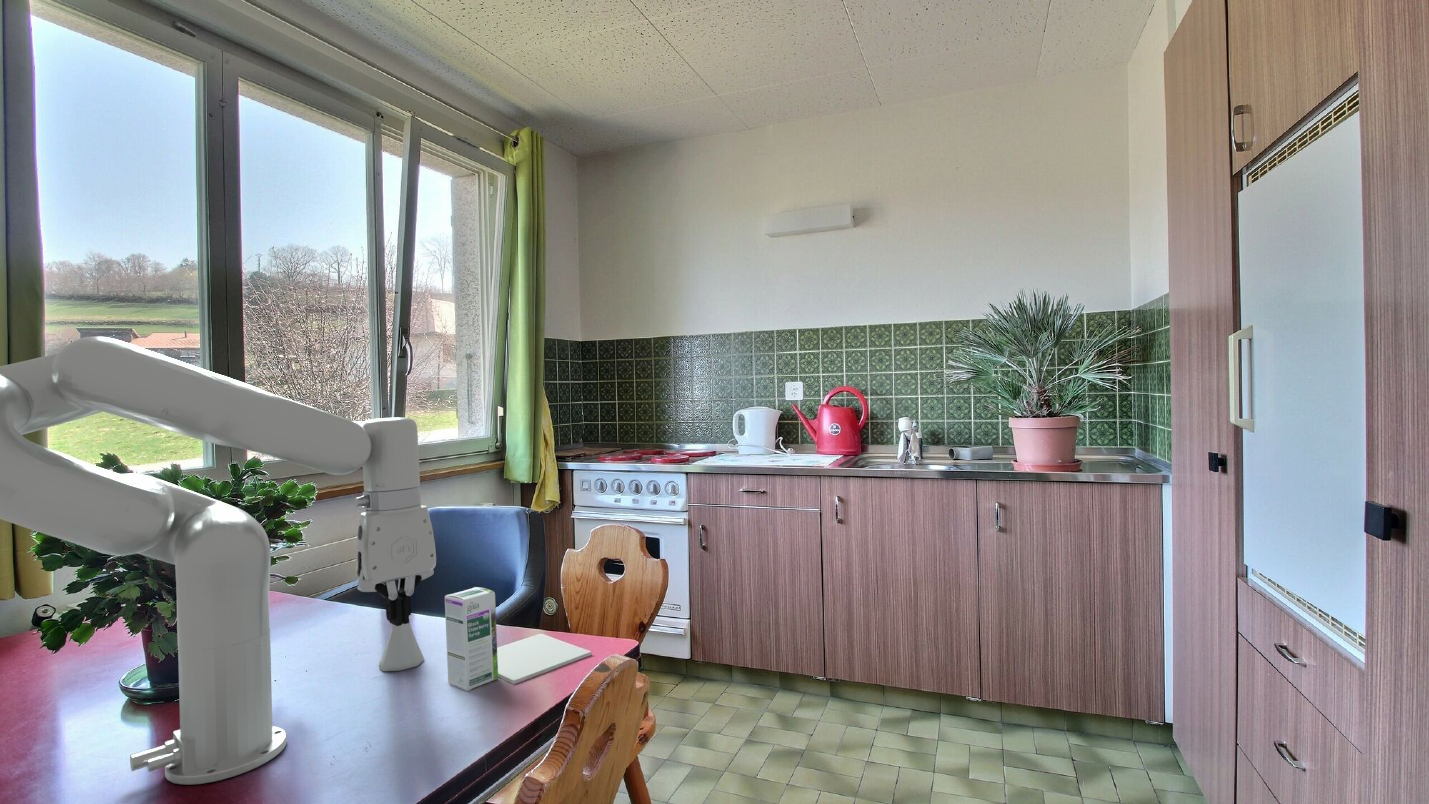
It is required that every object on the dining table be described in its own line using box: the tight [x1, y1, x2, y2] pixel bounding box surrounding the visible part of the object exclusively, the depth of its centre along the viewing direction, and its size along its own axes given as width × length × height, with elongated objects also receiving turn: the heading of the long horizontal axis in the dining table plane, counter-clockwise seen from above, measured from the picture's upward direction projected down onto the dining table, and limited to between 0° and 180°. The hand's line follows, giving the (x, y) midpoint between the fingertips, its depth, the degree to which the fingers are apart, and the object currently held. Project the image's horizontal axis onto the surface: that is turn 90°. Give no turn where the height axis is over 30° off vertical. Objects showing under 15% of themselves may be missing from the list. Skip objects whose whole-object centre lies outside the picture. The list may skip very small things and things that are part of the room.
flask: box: [378, 619, 425, 672], centre depth 115 cm, size 7×7×10 cm
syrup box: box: [444, 586, 499, 692], centre depth 107 cm, size 6×6×14 cm
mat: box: [497, 633, 592, 685], centre depth 116 cm, size 16×16×1 cm
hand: (399, 622), depth 98 cm, fingers closed
